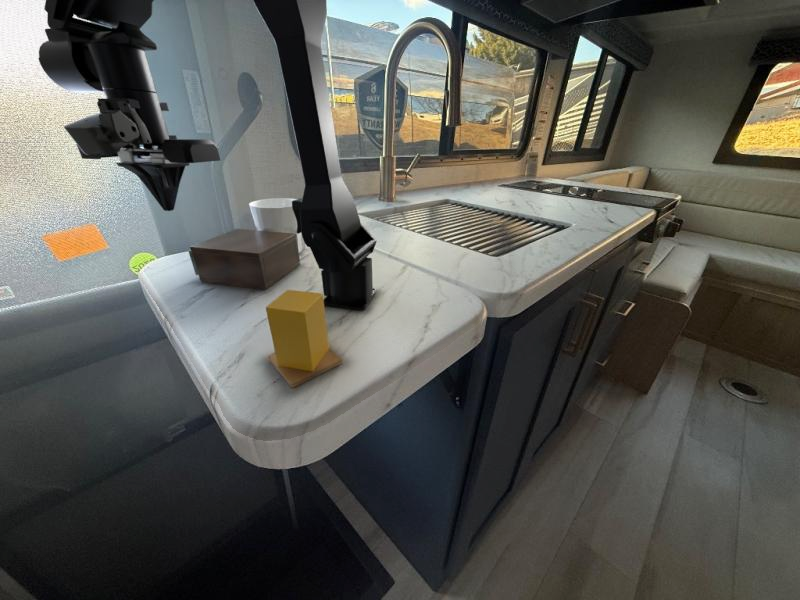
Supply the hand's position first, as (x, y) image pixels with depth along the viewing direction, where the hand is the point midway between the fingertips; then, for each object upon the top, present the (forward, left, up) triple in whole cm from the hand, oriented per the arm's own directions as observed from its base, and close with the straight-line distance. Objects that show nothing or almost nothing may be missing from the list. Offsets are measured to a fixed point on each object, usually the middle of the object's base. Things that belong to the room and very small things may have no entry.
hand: (169, 210), depth 49 cm
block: (-30, +17, -10) cm, 36 cm away
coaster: (-31, +17, -11) cm, 36 cm away
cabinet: (-10, -4, -11) cm, 15 cm away
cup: (-9, -16, -11) cm, 21 cm away
